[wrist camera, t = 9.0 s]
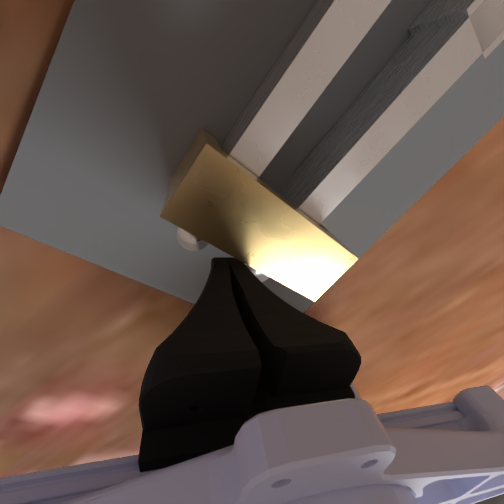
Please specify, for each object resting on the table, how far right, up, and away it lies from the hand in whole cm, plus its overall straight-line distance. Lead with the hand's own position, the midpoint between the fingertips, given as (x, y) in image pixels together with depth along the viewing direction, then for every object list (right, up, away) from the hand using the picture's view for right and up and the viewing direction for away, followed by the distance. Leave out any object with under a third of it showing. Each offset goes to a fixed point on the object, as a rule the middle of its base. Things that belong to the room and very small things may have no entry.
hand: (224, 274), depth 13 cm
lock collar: (+1, +5, +3) cm, 5 cm away
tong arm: (+6, +7, +1) cm, 9 cm away
